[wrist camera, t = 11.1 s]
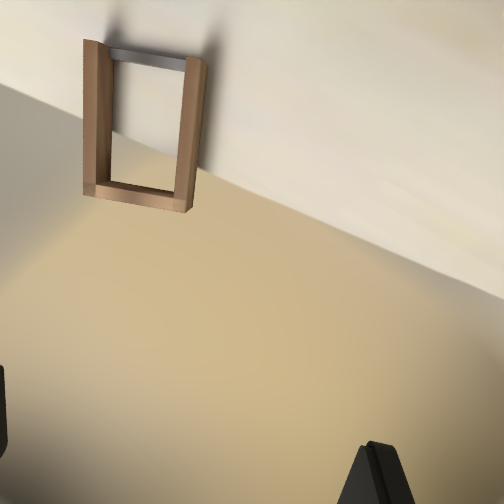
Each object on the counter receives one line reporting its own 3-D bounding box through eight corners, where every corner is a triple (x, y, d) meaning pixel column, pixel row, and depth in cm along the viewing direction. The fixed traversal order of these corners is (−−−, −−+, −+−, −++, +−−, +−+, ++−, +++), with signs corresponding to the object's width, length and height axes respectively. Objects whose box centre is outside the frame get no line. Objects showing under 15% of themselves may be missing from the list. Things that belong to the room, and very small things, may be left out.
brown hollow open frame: (207, 65, 31) (200, 58, 28) (192, 207, 35) (185, 213, 32) (101, 47, 31) (83, 38, 28) (98, 190, 36) (83, 195, 33)
